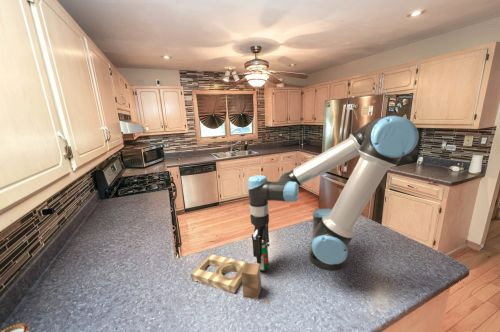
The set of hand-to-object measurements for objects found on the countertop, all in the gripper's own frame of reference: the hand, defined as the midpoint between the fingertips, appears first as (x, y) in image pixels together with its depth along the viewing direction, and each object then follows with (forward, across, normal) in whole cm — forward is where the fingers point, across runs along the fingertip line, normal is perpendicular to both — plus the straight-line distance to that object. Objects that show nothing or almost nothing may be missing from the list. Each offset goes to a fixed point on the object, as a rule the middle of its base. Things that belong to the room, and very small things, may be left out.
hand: (262, 264), depth 88 cm
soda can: (+2, 0, 0) cm, 2 cm away
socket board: (+2, +9, -15) cm, 18 cm away
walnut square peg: (+2, +13, 0) cm, 13 cm away
